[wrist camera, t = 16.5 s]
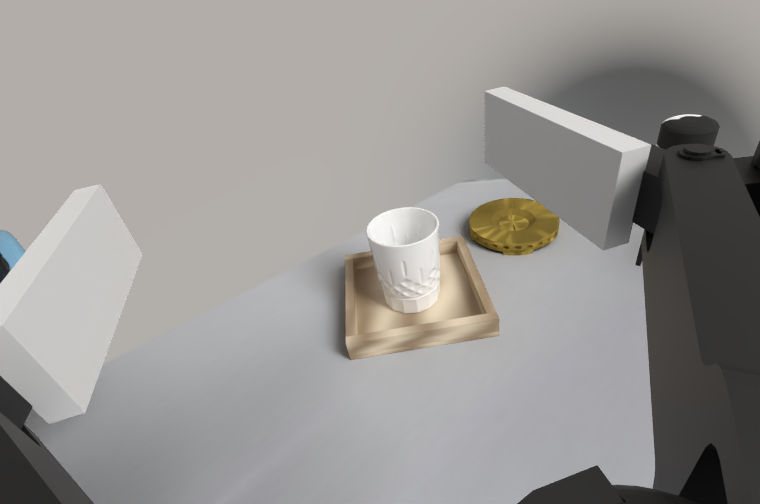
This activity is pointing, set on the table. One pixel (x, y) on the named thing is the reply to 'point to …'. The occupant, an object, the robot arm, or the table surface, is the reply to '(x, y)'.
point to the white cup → (406, 257)
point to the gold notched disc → (513, 226)
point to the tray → (424, 329)
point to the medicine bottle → (687, 131)
